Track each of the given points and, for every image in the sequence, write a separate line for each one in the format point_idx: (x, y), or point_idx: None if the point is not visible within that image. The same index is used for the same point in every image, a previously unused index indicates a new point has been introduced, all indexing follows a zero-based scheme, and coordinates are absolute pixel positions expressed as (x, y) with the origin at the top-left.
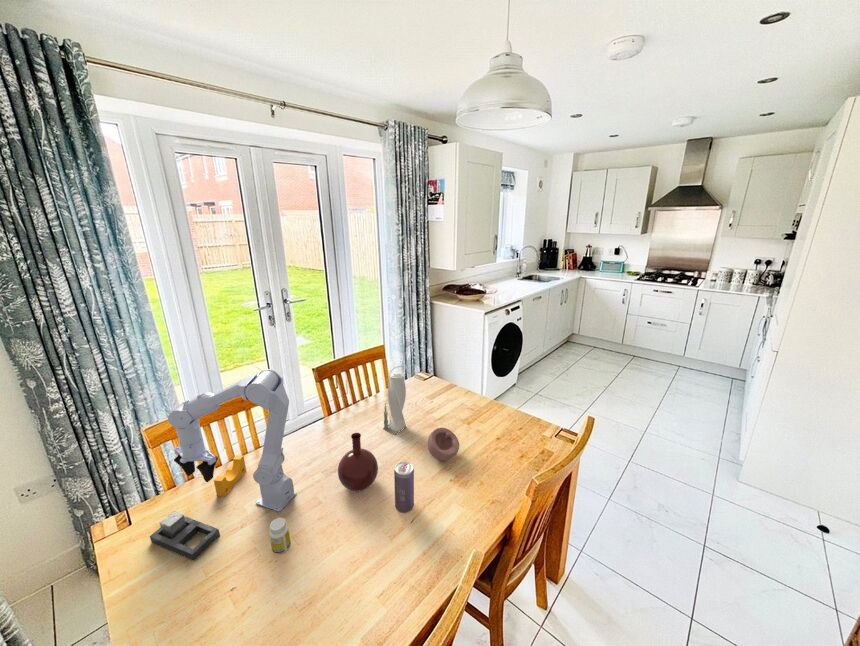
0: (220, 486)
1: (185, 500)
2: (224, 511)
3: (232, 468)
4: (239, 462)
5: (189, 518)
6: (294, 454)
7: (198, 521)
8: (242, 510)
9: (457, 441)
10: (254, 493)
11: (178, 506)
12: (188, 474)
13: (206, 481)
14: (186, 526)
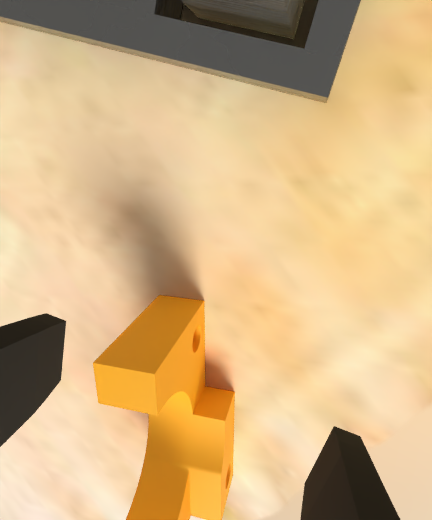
0: (135, 335)
1: (393, 270)
2: (88, 192)
3: (185, 477)
4: (134, 514)
5: (193, 59)
6: (25, 509)
7: (109, 42)
8: (8, 203)
9: None
10: (30, 310)
11: (414, 218)
12: (336, 449)
13: (38, 317)
14: (185, 1)
